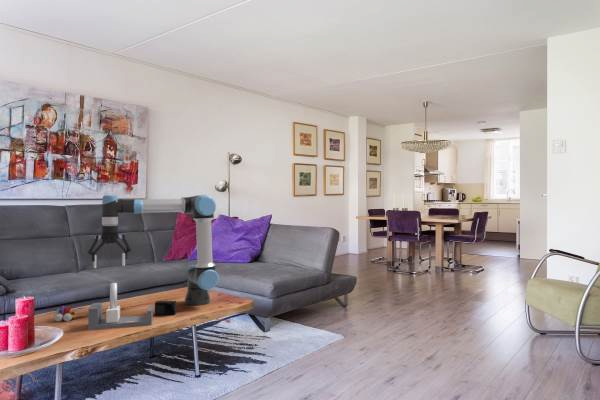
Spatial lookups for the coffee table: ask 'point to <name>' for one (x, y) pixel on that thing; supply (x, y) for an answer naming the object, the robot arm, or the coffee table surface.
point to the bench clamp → (99, 323)
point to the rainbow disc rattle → (65, 314)
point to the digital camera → (165, 308)
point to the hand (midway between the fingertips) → (109, 266)
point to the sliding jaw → (113, 306)
